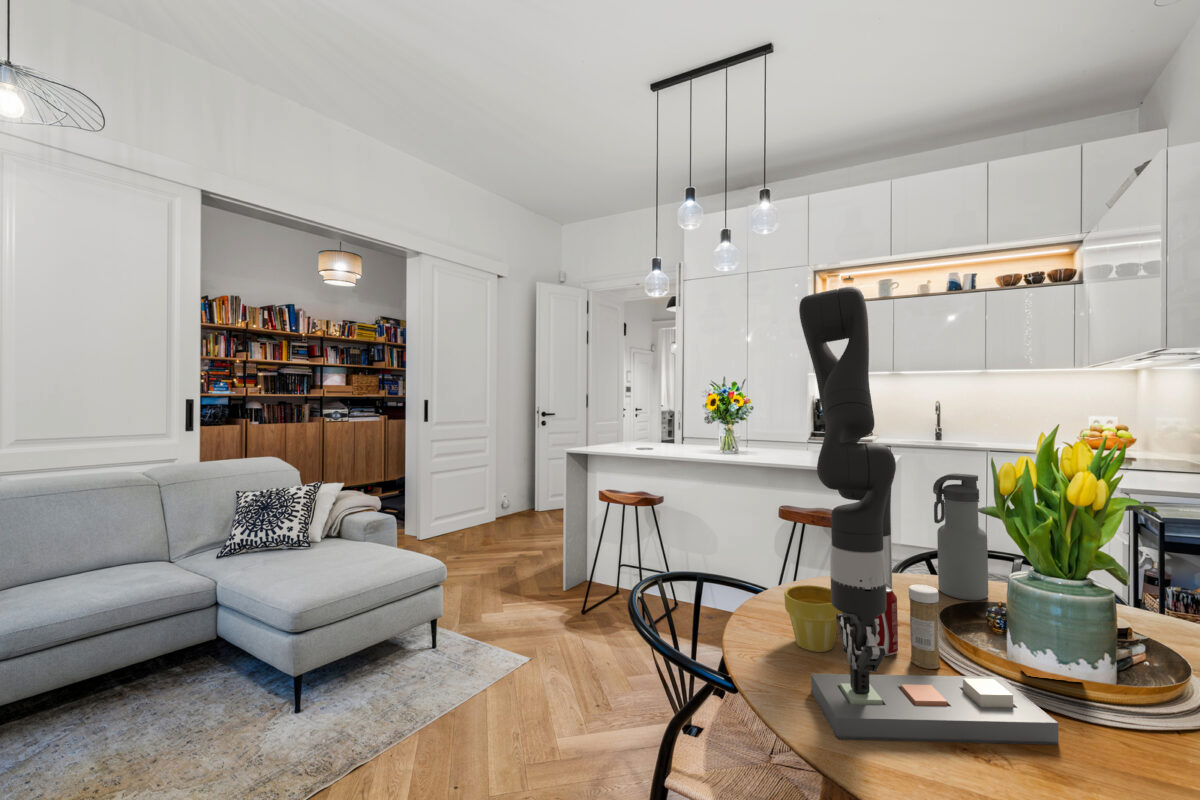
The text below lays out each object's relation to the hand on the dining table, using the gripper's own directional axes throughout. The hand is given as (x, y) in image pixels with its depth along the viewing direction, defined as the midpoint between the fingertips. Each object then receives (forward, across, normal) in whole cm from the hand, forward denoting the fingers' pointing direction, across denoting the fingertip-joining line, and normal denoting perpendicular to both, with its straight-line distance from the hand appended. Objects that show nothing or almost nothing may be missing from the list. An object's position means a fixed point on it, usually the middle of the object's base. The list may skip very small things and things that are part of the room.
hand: (860, 691), depth 81 cm
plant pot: (+4, -23, 0) cm, 23 cm away
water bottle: (+4, -50, +42) cm, 66 cm away
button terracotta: (+3, 0, +9) cm, 10 cm away
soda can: (+4, -21, +11) cm, 24 cm away
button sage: (+3, 0, 0) cm, 3 cm away
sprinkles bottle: (+4, -16, +17) cm, 24 cm away
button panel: (+4, 0, +9) cm, 10 cm away
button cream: (+2, 0, +18) cm, 18 cm away
